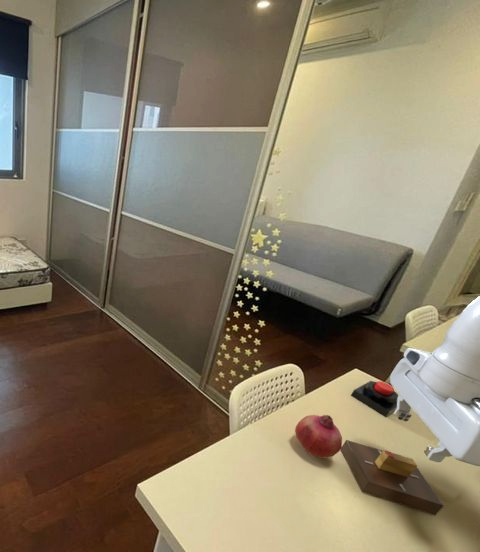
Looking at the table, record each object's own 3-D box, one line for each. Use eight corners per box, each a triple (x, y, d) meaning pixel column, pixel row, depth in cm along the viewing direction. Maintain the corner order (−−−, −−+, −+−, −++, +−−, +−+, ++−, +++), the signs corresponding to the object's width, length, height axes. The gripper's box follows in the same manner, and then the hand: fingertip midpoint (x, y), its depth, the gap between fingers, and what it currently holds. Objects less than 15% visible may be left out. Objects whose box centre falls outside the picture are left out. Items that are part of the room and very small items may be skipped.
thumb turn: (403, 470, 65) (413, 457, 63) (408, 477, 63) (418, 465, 62) (374, 461, 66) (383, 449, 64) (378, 468, 64) (388, 456, 63)
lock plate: (403, 467, 69) (411, 458, 67) (435, 515, 60) (444, 505, 59) (340, 448, 71) (346, 439, 70) (361, 491, 63) (369, 481, 61)
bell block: (367, 386, 93) (373, 375, 91) (401, 406, 87) (409, 395, 85) (350, 395, 88) (357, 384, 87) (385, 417, 82) (393, 406, 80)
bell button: (377, 384, 88) (380, 379, 87) (393, 393, 85) (396, 388, 85) (371, 388, 87) (374, 383, 86) (387, 397, 84) (390, 392, 83)
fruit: (340, 462, 68) (362, 429, 64) (313, 470, 66) (334, 436, 62) (307, 431, 75) (325, 399, 71) (281, 436, 73) (297, 404, 69)
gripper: (540, 434, 45) (479, 495, 51) (439, 352, 63) (402, 403, 69) (484, 420, 47) (431, 481, 52) (401, 343, 65) (368, 394, 70)
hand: (414, 436), depth 61 cm, fingers open, 8 cm apart
